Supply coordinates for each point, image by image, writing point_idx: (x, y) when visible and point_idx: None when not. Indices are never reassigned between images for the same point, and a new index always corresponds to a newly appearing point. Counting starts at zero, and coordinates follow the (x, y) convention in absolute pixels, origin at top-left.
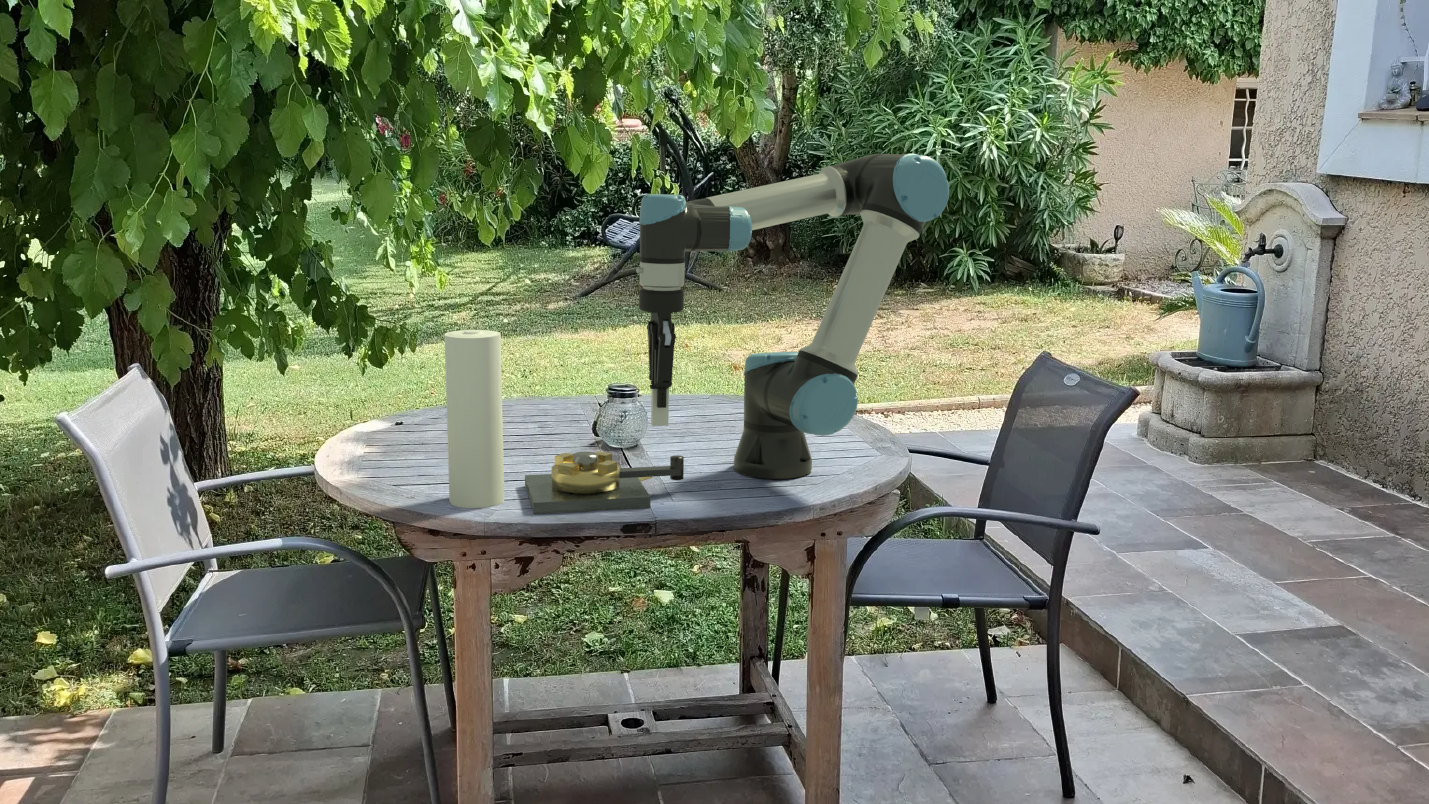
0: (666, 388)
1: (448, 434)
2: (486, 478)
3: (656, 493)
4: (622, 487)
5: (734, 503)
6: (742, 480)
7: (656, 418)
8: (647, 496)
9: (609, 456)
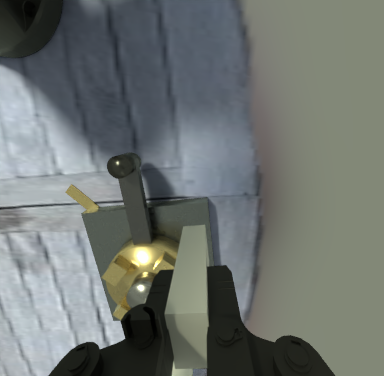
0: (250, 334)
1: None
2: (189, 371)
3: (144, 185)
4: (163, 231)
5: (195, 82)
6: (72, 51)
7: (208, 263)
8: (205, 205)
9: (119, 263)
